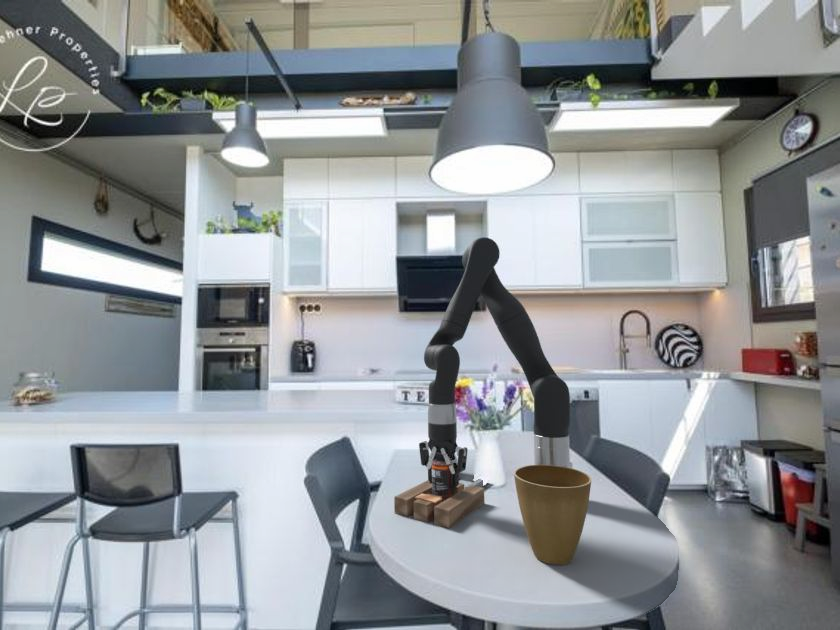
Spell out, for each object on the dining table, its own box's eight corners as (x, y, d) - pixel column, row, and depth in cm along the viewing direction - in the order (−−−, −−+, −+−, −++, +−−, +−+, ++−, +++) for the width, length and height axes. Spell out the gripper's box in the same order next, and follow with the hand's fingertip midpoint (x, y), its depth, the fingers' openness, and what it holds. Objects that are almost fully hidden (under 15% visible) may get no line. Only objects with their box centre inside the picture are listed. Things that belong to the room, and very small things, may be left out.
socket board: (484, 503, 114) (484, 486, 114) (448, 528, 99) (448, 509, 99) (433, 491, 123) (433, 476, 123) (394, 512, 108) (394, 495, 109)
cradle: (489, 483, 130) (489, 476, 130) (469, 495, 120) (469, 488, 120) (454, 476, 136) (454, 469, 137) (433, 487, 127) (433, 480, 127)
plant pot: (580, 585, 76) (577, 492, 77) (503, 560, 85) (501, 477, 86) (603, 551, 88) (600, 471, 88) (533, 532, 97) (531, 459, 97)
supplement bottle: (453, 490, 116) (453, 448, 116) (456, 499, 110) (455, 454, 110) (431, 491, 116) (430, 448, 116) (432, 499, 110) (432, 454, 110)
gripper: (473, 420, 113) (474, 486, 112) (427, 415, 121) (428, 476, 120) (458, 425, 106) (459, 495, 106) (411, 419, 115) (412, 484, 114)
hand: (443, 484), depth 113 cm, fingers closed on supplement bottle, 6 cm apart
